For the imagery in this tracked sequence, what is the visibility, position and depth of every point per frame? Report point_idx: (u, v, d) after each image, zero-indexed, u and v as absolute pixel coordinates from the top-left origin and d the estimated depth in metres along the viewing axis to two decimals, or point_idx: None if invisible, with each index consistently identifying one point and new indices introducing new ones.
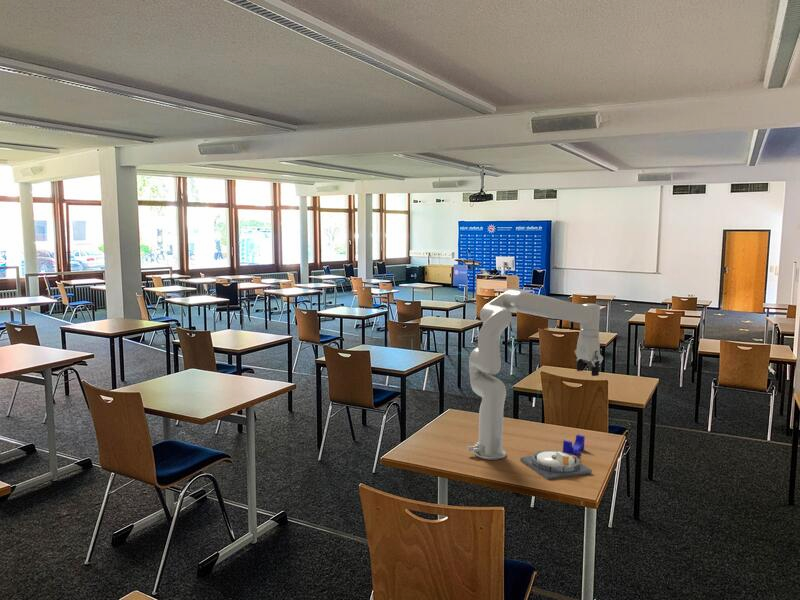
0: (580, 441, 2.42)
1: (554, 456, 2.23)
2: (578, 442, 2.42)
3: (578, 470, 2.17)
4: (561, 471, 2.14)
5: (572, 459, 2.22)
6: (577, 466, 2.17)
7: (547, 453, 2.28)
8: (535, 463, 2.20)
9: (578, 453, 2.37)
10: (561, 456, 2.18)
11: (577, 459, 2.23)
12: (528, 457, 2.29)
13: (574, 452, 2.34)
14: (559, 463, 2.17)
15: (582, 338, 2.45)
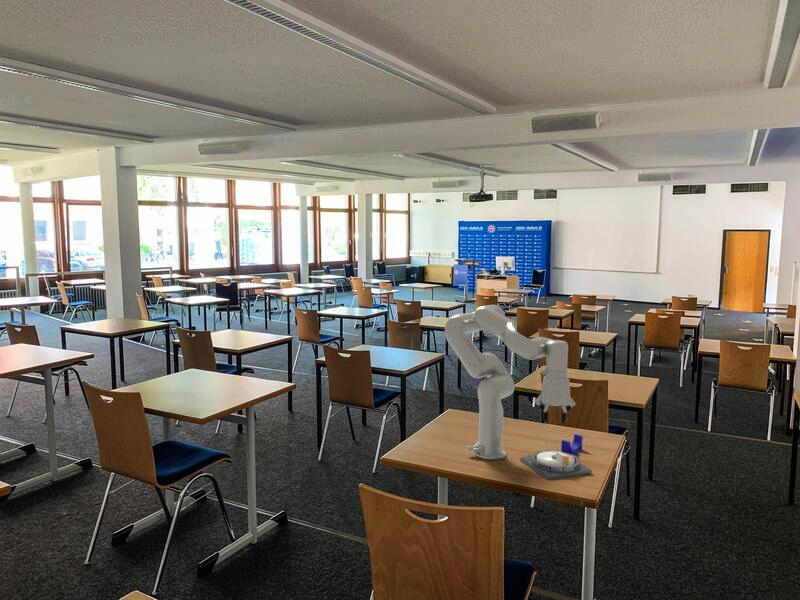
0: (578, 441, 2.42)
1: (554, 456, 2.23)
2: (576, 442, 2.43)
3: (578, 470, 2.17)
4: (561, 471, 2.14)
5: (572, 459, 2.22)
6: (577, 466, 2.17)
7: (547, 453, 2.28)
8: (535, 463, 2.20)
9: (576, 453, 2.37)
10: (561, 456, 2.18)
11: (577, 459, 2.23)
12: (528, 457, 2.29)
13: (572, 452, 2.35)
14: (559, 463, 2.17)
15: (554, 381, 2.12)
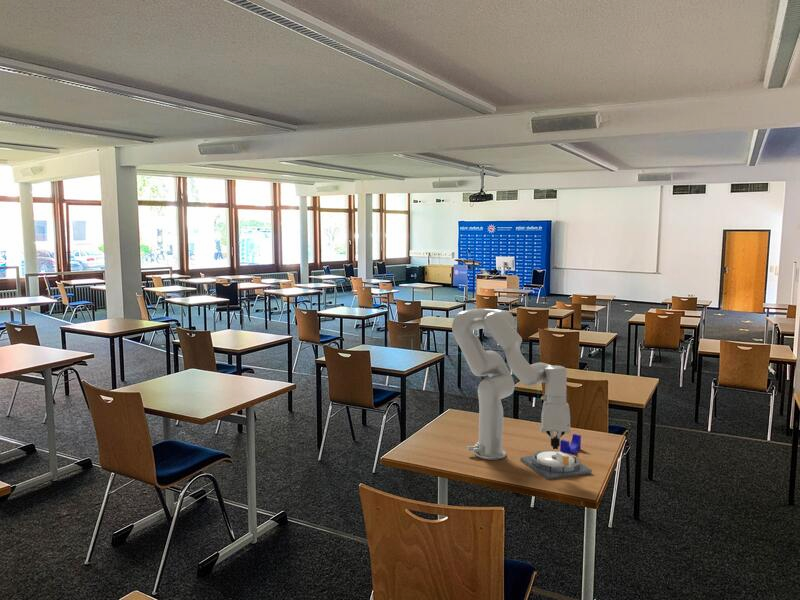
0: (577, 440, 2.43)
1: (554, 456, 2.23)
2: (575, 441, 2.43)
3: (578, 470, 2.17)
4: (561, 471, 2.14)
5: (572, 459, 2.22)
6: (577, 466, 2.17)
7: (547, 453, 2.28)
8: (535, 463, 2.20)
9: (575, 452, 2.37)
10: (561, 456, 2.18)
11: (577, 459, 2.23)
12: (528, 457, 2.29)
13: (571, 451, 2.35)
14: (559, 463, 2.17)
15: (554, 407, 2.13)
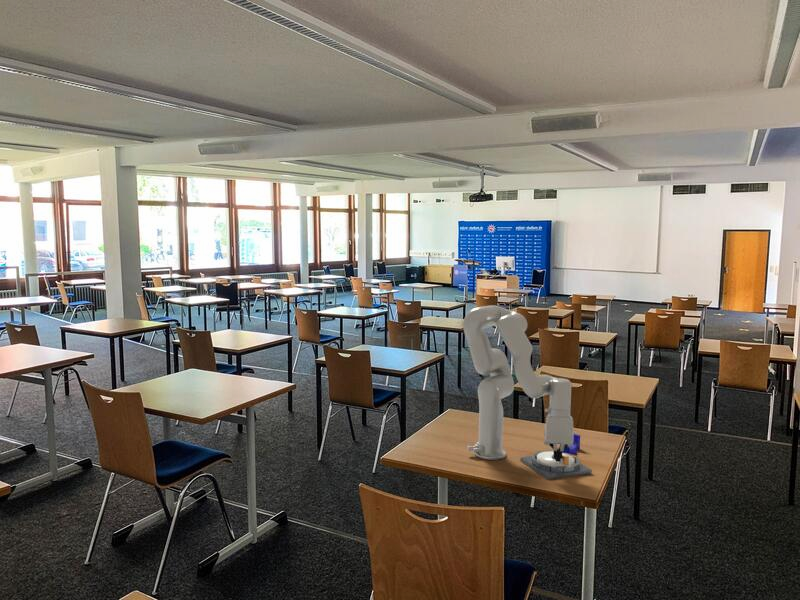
0: (576, 440, 2.43)
1: None
2: (574, 441, 2.43)
3: (578, 470, 2.17)
4: (561, 471, 2.14)
5: (572, 459, 2.22)
6: (577, 466, 2.17)
7: (547, 453, 2.28)
8: (535, 463, 2.20)
9: (574, 452, 2.38)
10: None
11: (577, 459, 2.23)
12: (528, 457, 2.29)
13: (570, 451, 2.35)
14: (559, 463, 2.17)
15: (558, 420, 2.13)
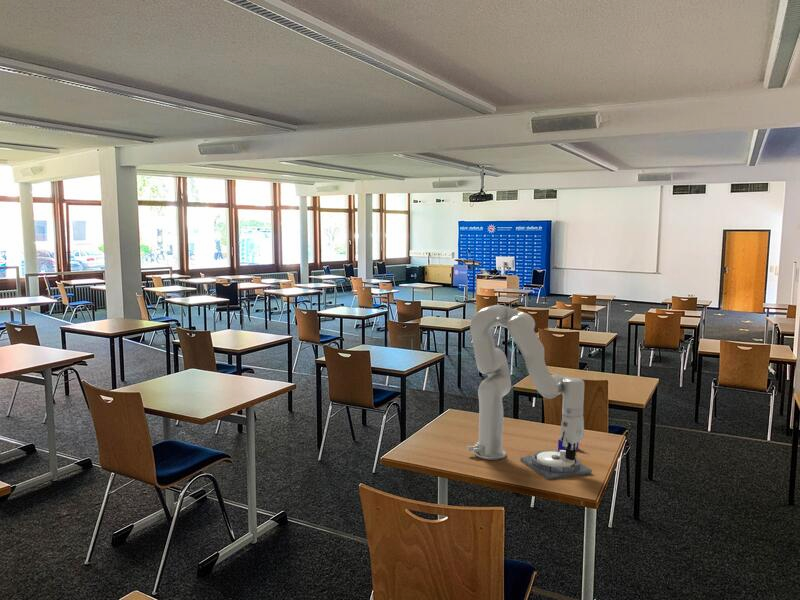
0: None
1: (555, 456, 2.23)
2: None
3: (578, 470, 2.17)
4: (561, 471, 2.14)
5: None
6: (577, 466, 2.17)
7: (542, 457, 2.23)
8: (535, 463, 2.20)
9: None
10: None
11: (577, 459, 2.23)
12: (528, 457, 2.29)
13: None
14: (570, 460, 2.20)
15: (577, 419, 2.15)
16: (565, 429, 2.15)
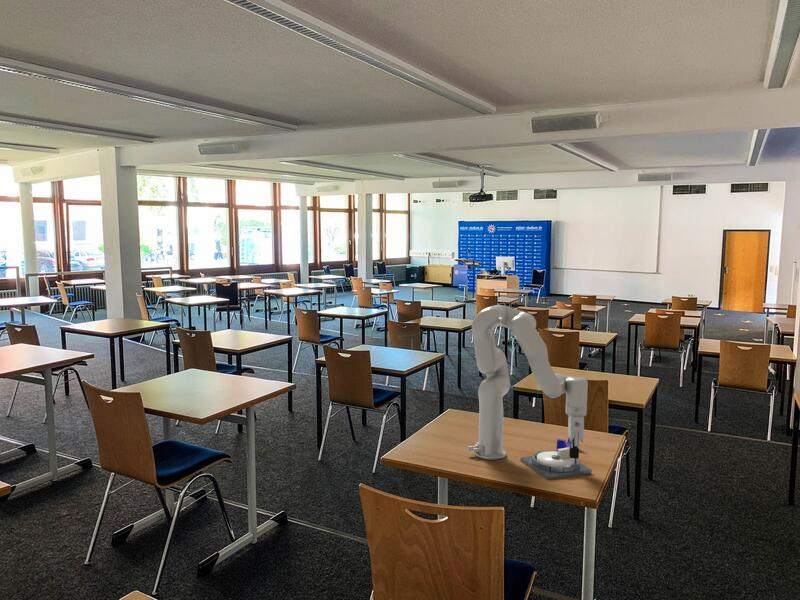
0: None
1: (556, 456, 2.23)
2: None
3: (578, 470, 2.17)
4: (561, 471, 2.14)
5: (552, 452, 2.29)
6: (577, 466, 2.17)
7: (545, 460, 2.21)
8: (535, 463, 2.20)
9: None
10: (567, 450, 2.24)
11: (577, 459, 2.23)
12: (528, 457, 2.29)
13: None
14: (569, 457, 2.24)
15: None
16: (577, 429, 2.14)
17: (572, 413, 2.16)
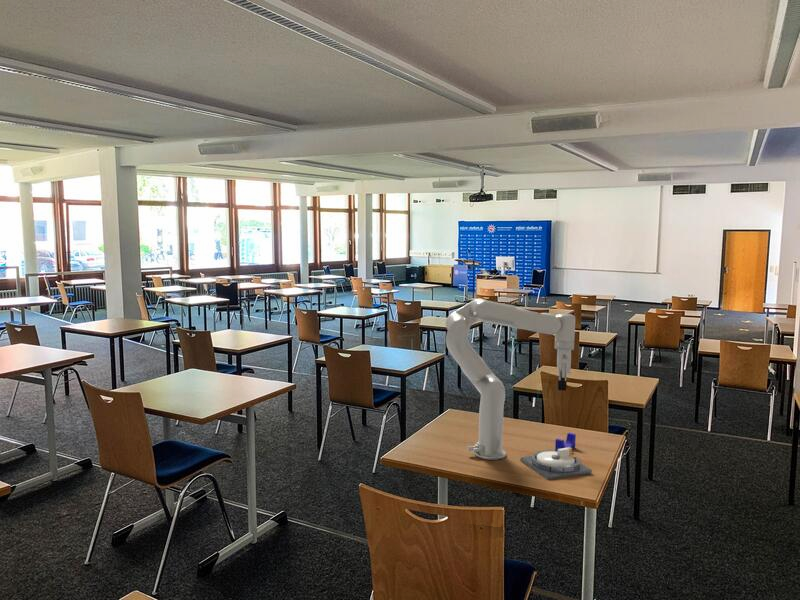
0: (571, 439, 2.44)
1: (556, 456, 2.23)
2: (570, 440, 2.44)
3: (578, 470, 2.17)
4: (561, 471, 2.14)
5: (552, 452, 2.29)
6: (577, 466, 2.17)
7: (545, 460, 2.21)
8: (535, 463, 2.20)
9: None
10: (567, 450, 2.24)
11: (577, 459, 2.23)
12: (528, 457, 2.29)
13: None
14: (569, 457, 2.24)
15: None
16: (564, 361, 2.29)
17: (560, 347, 2.30)
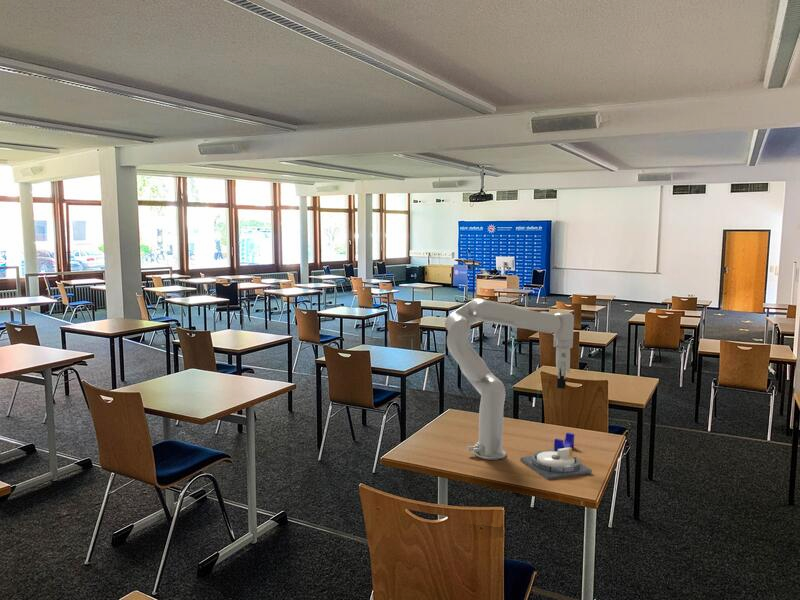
0: (570, 439, 2.44)
1: (556, 456, 2.23)
2: (568, 440, 2.44)
3: (578, 470, 2.17)
4: (561, 471, 2.14)
5: (552, 452, 2.29)
6: (577, 466, 2.17)
7: (545, 460, 2.21)
8: (535, 463, 2.20)
9: None
10: (567, 450, 2.24)
11: (577, 459, 2.23)
12: (528, 457, 2.29)
13: None
14: (569, 457, 2.24)
15: None
16: (563, 359, 2.30)
17: (559, 345, 2.31)
